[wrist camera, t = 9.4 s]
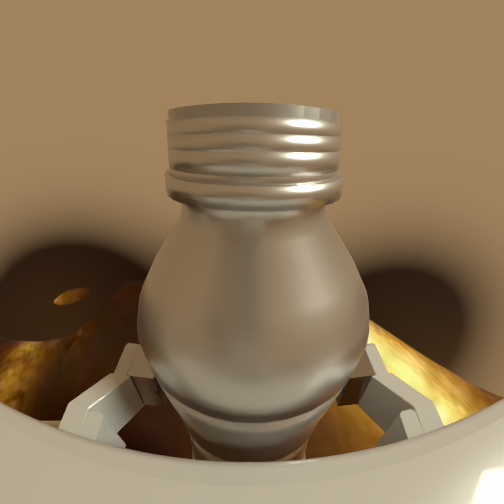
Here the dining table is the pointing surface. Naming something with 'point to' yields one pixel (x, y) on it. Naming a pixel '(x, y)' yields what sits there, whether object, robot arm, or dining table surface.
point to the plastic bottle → (253, 280)
